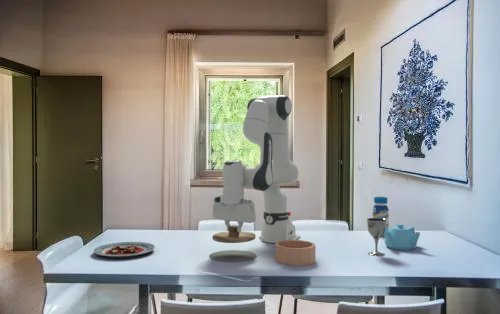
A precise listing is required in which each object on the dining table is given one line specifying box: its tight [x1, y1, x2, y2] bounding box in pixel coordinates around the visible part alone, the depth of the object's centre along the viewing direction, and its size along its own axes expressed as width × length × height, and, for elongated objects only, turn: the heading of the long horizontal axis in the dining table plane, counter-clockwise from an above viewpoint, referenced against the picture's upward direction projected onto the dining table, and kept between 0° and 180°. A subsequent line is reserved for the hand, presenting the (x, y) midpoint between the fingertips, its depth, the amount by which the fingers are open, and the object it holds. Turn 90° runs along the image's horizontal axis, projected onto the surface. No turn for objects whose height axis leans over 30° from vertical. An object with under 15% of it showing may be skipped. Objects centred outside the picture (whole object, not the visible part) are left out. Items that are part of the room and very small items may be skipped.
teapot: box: [383, 223, 421, 251], centre depth 192 cm, size 15×15×11 cm
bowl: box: [274, 239, 316, 267], centre depth 169 cm, size 16×16×6 cm
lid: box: [212, 224, 256, 244], centre depth 175 cm, size 18×18×5 cm
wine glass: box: [366, 217, 386, 257], centre depth 179 cm, size 8×8×15 cm
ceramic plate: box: [93, 241, 156, 259], centre depth 181 cm, size 26×26×3 cm
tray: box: [208, 249, 258, 263], centre depth 174 cm, size 20×20×1 cm
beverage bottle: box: [371, 196, 390, 237], centre depth 222 cm, size 8×8×20 cm
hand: (234, 231), depth 175 cm, fingers closed on lid, 3 cm apart
